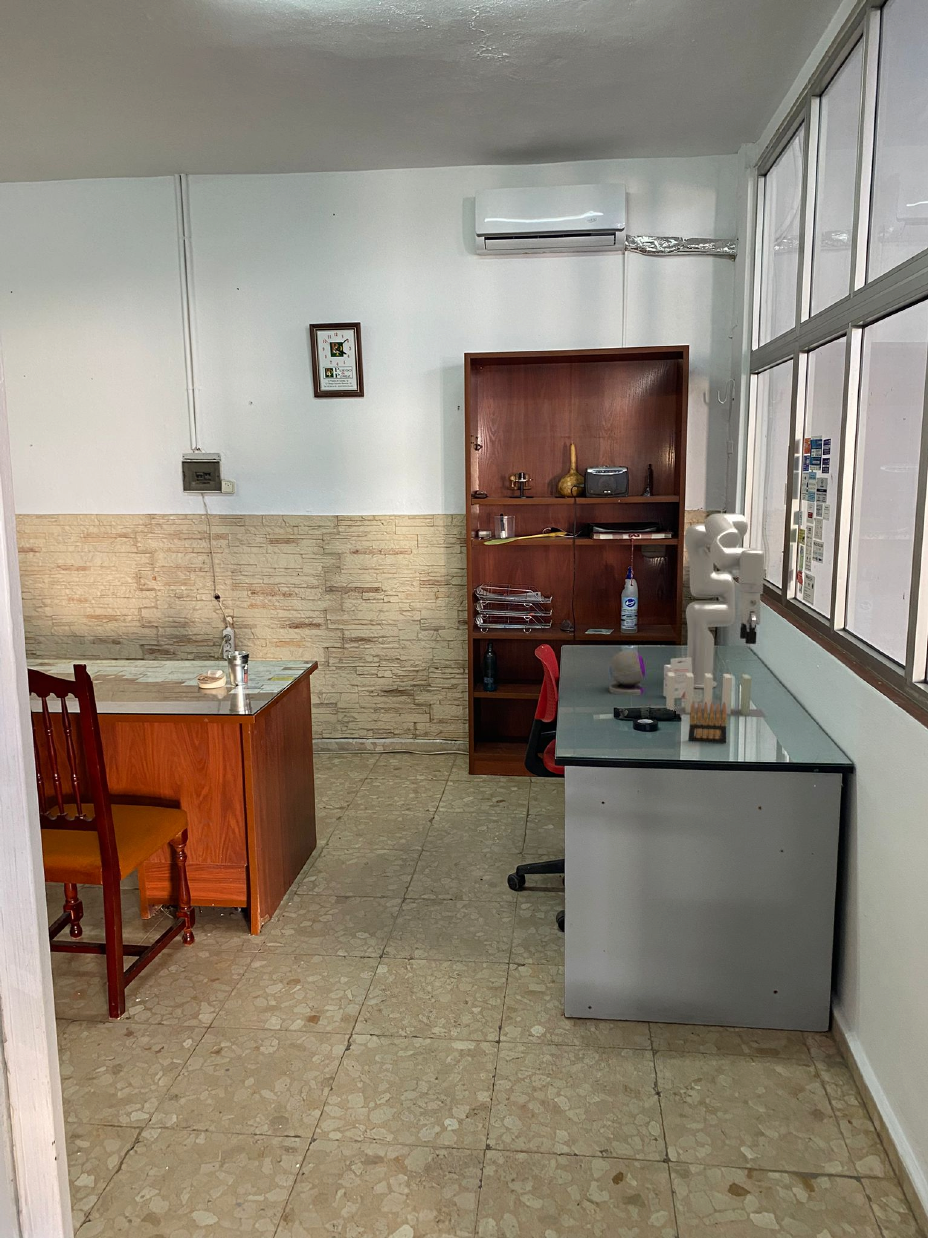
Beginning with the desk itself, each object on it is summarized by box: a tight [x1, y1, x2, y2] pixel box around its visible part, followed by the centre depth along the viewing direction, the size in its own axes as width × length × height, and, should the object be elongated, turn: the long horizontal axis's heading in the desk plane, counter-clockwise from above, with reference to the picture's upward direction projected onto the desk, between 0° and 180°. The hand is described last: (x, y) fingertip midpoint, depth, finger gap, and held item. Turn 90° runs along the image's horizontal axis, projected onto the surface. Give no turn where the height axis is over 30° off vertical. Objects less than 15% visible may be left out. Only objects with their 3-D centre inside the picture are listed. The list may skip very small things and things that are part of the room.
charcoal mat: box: [650, 705, 767, 718], centre depth 299 cm, size 10×36×1 cm, turn 82°
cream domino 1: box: [665, 672, 675, 711], centre depth 299 cm, size 2×6×12 cm, turn 172°
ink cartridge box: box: [662, 657, 692, 699], centre depth 318 cm, size 9×5×15 cm, turn 105°
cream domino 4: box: [721, 673, 733, 714], centre depth 297 cm, size 2×6×12 cm, turn 172°
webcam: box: [608, 649, 647, 696], centre depth 328 cm, size 13×13×15 cm
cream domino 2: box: [684, 673, 695, 713], centre depth 298 cm, size 2×6×12 cm, turn 172°
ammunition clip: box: [688, 700, 728, 744], centre depth 265 cm, size 11×2×12 cm, turn 80°
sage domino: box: [739, 674, 752, 715], centre depth 296 cm, size 2×6×12 cm, turn 172°
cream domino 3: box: [702, 673, 714, 713], centre depth 298 cm, size 2×6×12 cm, turn 172°
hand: (747, 641), depth 293 cm, fingers open, 9 cm apart
